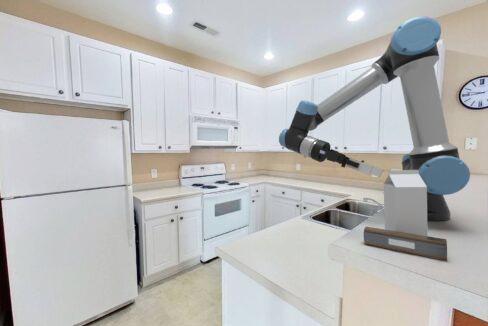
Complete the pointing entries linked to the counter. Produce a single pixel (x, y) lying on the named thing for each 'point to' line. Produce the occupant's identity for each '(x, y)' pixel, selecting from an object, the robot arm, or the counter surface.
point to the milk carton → (405, 202)
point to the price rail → (407, 242)
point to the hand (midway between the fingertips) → (376, 172)
